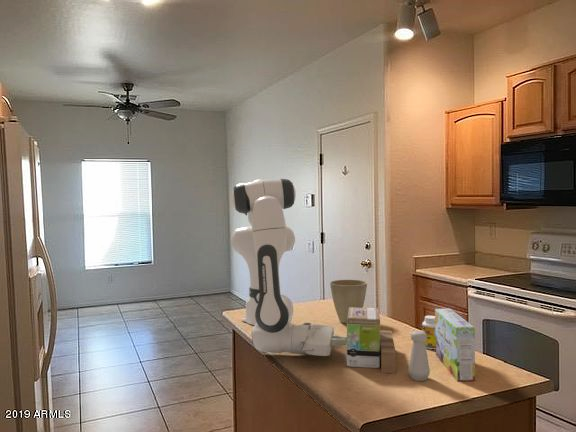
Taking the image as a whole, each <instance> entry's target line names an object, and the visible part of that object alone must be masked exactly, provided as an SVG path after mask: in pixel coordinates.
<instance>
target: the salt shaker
mask: <svg viewBox="0 0 576 432" xmlns="http://www.w3.org/2000/svg"><path fill="white" fill-rule="evenodd" d="M410 339H411V341H412V346H411V352H410V357H409V363H408V368H407V371H408V374H409V377H410V379H412V380H413V381H416V382H425V381H427V380H428V379H429V376H430V375H431V374H430V373H431V370H430V365H429V359H428V353H427V349H426V346H425V341H427V334H426V333H425V332H423V331H422V330H414V331H412V332H411V334H410Z"/></svg>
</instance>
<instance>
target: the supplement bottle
mask: <svg viewBox="0 0 576 432" xmlns="http://www.w3.org/2000/svg"><path fill="white" fill-rule="evenodd" d="M421 328H422V329H421V331H423V332H425V333H426V334H427V341H425V346H426V350H432V349H434V350H436V333H435V315H425V316H424V320H423V321H422V323H421Z"/></svg>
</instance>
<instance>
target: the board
mask: <svg viewBox="0 0 576 432" xmlns="http://www.w3.org/2000/svg"><path fill="white" fill-rule="evenodd" d="M396 351H397V350H396V347H395V342H394V338H393V332H392V330H382V329H380V369H381V374H396V373H397V357H396V356H397V352H396Z"/></svg>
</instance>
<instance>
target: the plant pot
mask: <svg viewBox="0 0 576 432" xmlns="http://www.w3.org/2000/svg"><path fill="white" fill-rule="evenodd" d="M329 286H330V293H331V298H332V301H333V302H332V303H333V304H334V305H333V306H334V310H335V312H336V315H337V318H338V320H339V322H340V323H341V324H346V325H347V318H348V310H349V307H355V308H364V303H365V299H366V296H367V295H366V294H367V287H368V282H367V281H365V280H362V279H359V280H358V279H336V280H331V281H330V282H329Z"/></svg>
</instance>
